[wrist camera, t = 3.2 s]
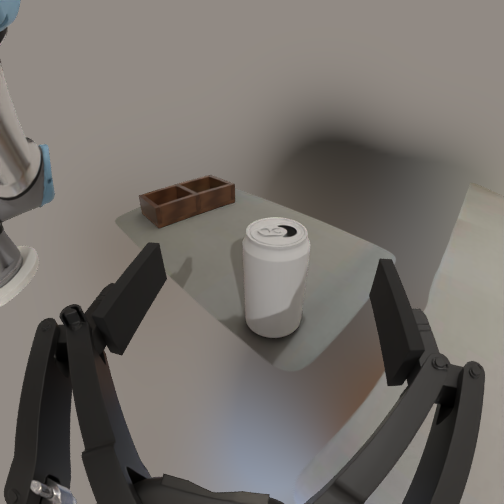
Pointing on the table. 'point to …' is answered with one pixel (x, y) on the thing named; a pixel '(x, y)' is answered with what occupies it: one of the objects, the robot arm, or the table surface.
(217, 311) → the table surface
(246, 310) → the beverage can
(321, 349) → the table surface
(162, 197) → the wooden compartment tray
